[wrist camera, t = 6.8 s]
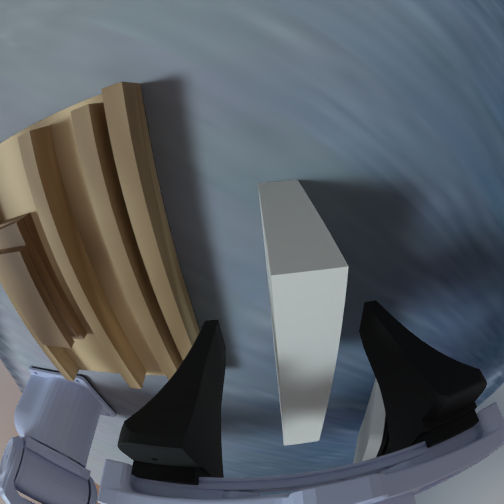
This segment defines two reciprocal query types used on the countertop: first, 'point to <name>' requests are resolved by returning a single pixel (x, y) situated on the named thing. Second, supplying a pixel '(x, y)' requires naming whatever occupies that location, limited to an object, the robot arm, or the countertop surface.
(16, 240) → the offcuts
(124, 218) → the rack
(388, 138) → the countertop surface
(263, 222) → the white rectangular block
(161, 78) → the countertop surface
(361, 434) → the grey curved slab
